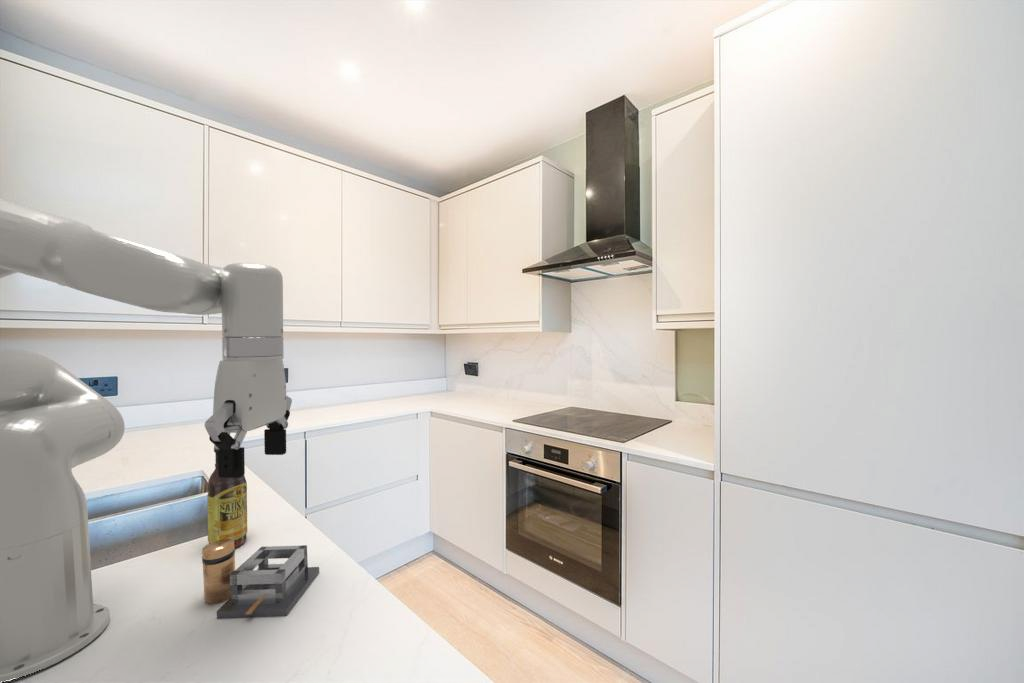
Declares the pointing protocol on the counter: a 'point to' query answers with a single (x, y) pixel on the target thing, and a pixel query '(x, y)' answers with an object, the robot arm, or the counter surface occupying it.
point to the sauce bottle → (227, 507)
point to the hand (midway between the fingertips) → (255, 464)
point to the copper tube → (218, 570)
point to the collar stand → (269, 583)
